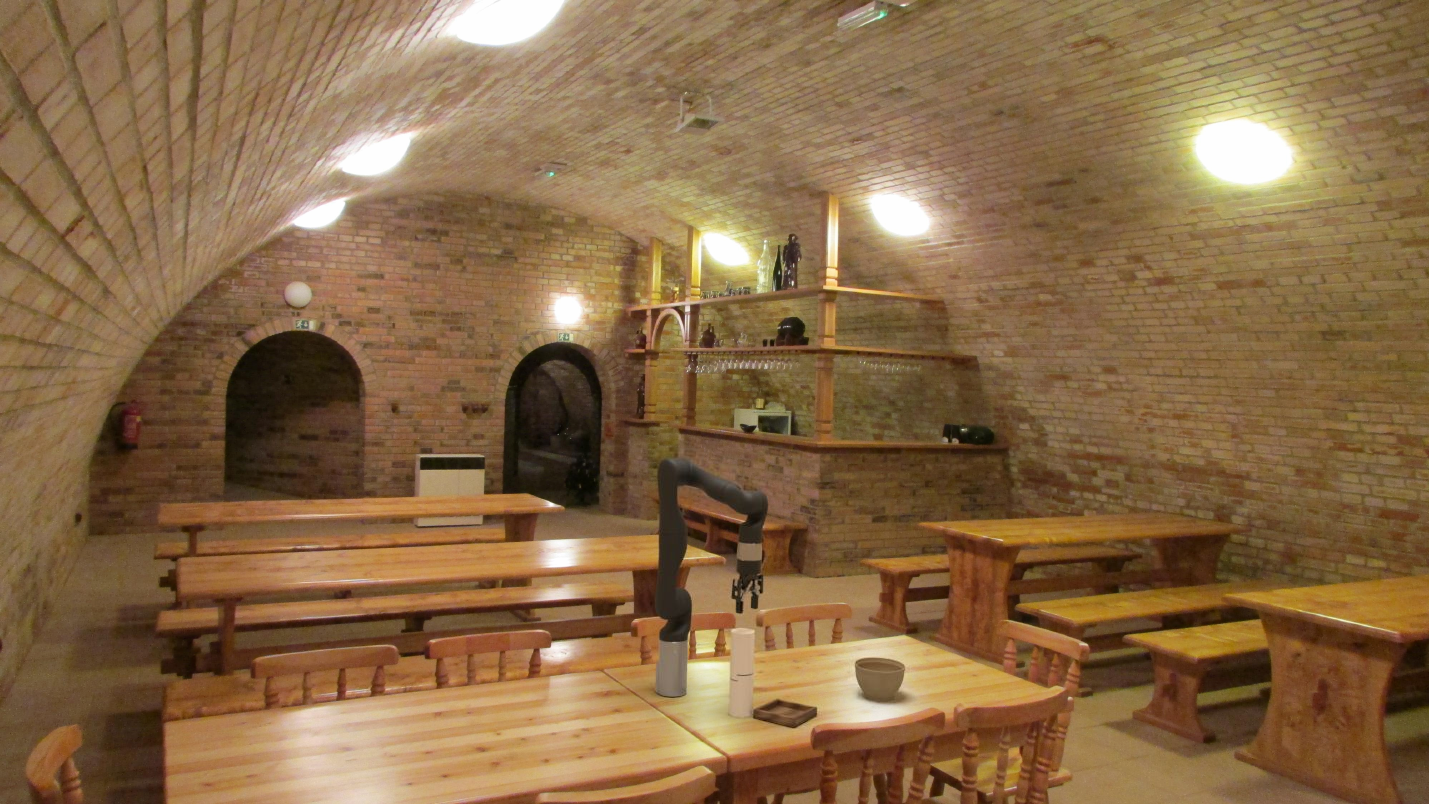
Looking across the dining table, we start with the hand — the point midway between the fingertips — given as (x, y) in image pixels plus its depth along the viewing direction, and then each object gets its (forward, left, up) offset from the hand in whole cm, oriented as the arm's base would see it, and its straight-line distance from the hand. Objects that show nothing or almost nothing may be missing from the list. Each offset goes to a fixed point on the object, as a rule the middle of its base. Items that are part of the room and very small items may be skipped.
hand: (746, 610), depth 292 cm
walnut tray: (+11, +6, -31) cm, 33 cm away
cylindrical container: (-1, 0, -31) cm, 31 cm away
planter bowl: (+25, +42, -31) cm, 58 cm away
